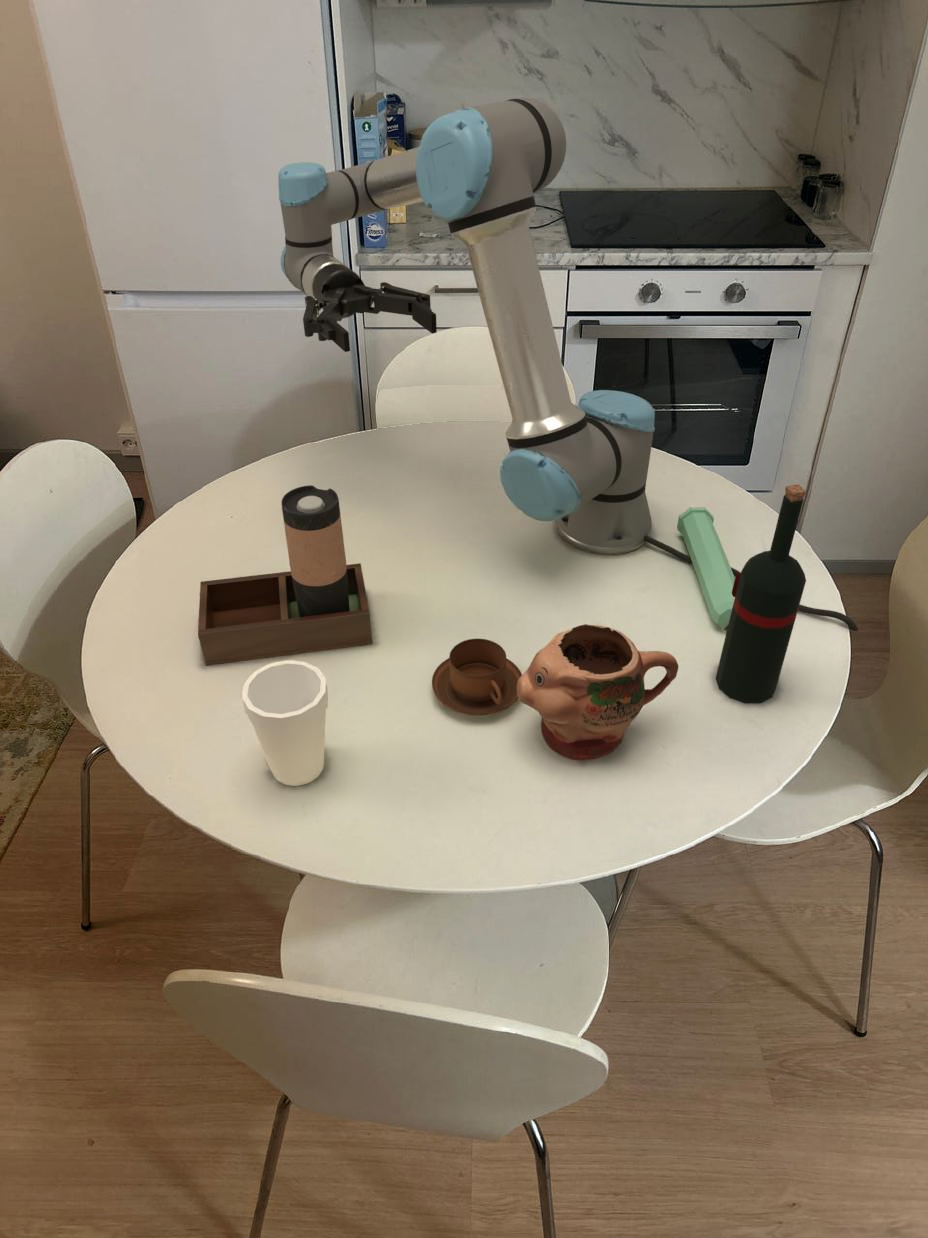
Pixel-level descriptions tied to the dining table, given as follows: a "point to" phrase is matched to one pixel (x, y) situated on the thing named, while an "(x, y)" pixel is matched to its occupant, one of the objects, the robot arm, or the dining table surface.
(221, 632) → the divided box
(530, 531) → the dining table surface
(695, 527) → the container
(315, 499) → the travel mug
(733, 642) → the wine bottle
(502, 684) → the cup and saucer
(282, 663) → the foam cup
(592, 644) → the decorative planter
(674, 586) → the dining table surface
